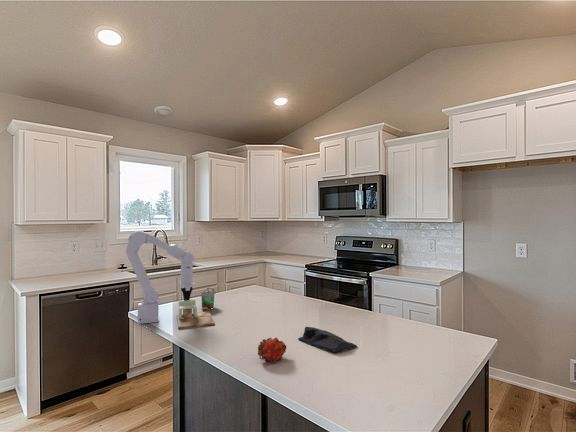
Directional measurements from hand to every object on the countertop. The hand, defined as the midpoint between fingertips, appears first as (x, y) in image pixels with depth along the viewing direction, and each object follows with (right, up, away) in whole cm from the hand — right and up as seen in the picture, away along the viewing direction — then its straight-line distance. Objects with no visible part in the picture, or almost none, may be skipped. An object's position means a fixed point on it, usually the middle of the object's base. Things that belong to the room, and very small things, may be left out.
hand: (186, 302), depth 168 cm
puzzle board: (+7, -7, -9) cm, 13 cm away
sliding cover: (+2, -6, -5) cm, 8 cm away
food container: (+9, -7, +14) cm, 18 cm away
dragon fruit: (+46, -7, -52) cm, 70 cm away
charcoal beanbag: (+67, -7, -36) cm, 77 cm away
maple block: (+2, -7, -5) cm, 9 cm away
